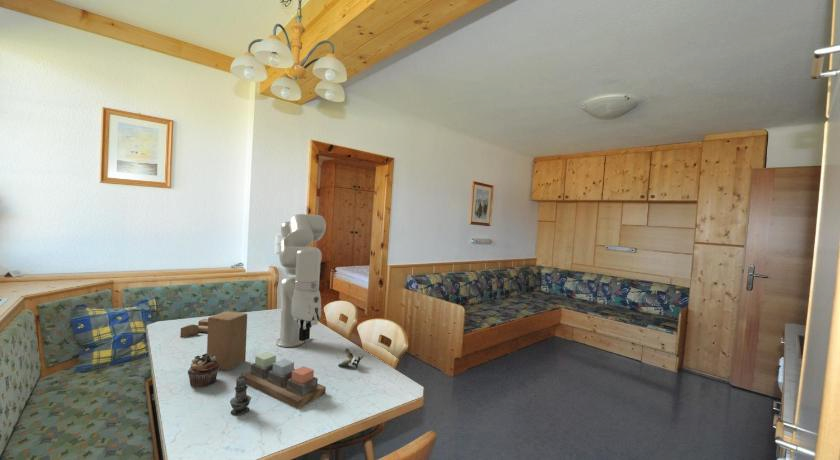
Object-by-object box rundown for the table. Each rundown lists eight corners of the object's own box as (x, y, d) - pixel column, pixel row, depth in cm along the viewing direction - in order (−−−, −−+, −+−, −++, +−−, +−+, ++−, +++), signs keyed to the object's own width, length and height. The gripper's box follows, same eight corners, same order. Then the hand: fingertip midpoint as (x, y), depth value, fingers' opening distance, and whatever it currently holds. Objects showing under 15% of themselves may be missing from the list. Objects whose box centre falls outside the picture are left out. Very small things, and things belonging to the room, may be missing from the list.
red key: (303, 377, 122) (303, 366, 122) (313, 381, 119) (313, 369, 119) (291, 382, 118) (291, 371, 117) (301, 387, 115) (302, 375, 115)
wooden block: (227, 371, 134) (230, 319, 133) (205, 367, 136) (207, 317, 135) (245, 361, 143) (247, 313, 143) (224, 357, 145) (226, 310, 145)
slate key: (284, 369, 127) (284, 358, 127) (293, 373, 124) (294, 362, 124) (272, 374, 123) (272, 363, 122) (281, 378, 120) (282, 367, 120)
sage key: (267, 362, 132) (267, 352, 132) (275, 365, 129) (276, 355, 129) (254, 366, 128) (255, 356, 128) (263, 370, 125) (264, 359, 125)
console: (270, 370, 136) (271, 355, 136) (325, 393, 121) (326, 376, 121) (241, 381, 126) (241, 365, 126) (297, 409, 111) (298, 390, 111)
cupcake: (225, 378, 128) (226, 352, 127) (202, 391, 118) (203, 362, 118) (204, 374, 130) (205, 348, 130) (180, 386, 121) (181, 357, 121)
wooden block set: (202, 316, 182) (236, 318, 181) (202, 327, 182) (235, 329, 181) (178, 326, 165) (215, 328, 164) (178, 337, 165) (214, 340, 164)
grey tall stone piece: (234, 405, 111) (236, 368, 110) (253, 406, 111) (255, 369, 111) (225, 416, 105) (227, 377, 104) (246, 416, 105) (247, 377, 105)
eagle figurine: (364, 360, 148) (346, 353, 151) (363, 350, 144) (344, 343, 146) (354, 376, 142) (336, 368, 145) (353, 366, 138) (334, 358, 141)
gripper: (330, 287, 117) (328, 341, 118) (300, 281, 125) (298, 332, 125) (313, 290, 111) (311, 347, 111) (282, 284, 118) (280, 337, 119)
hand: (304, 339), depth 118 cm, fingers closed
